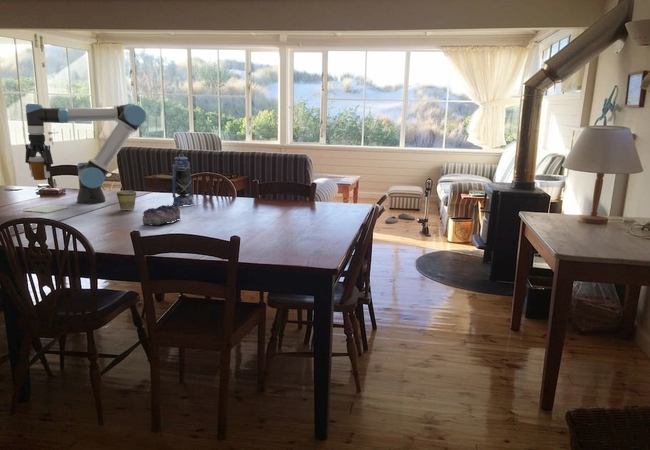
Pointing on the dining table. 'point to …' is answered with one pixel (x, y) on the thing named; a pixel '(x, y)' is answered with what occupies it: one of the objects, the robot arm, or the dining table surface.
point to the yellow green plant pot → (126, 199)
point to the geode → (161, 215)
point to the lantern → (182, 182)
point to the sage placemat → (46, 208)
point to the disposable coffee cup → (37, 167)
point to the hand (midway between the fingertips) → (40, 176)
